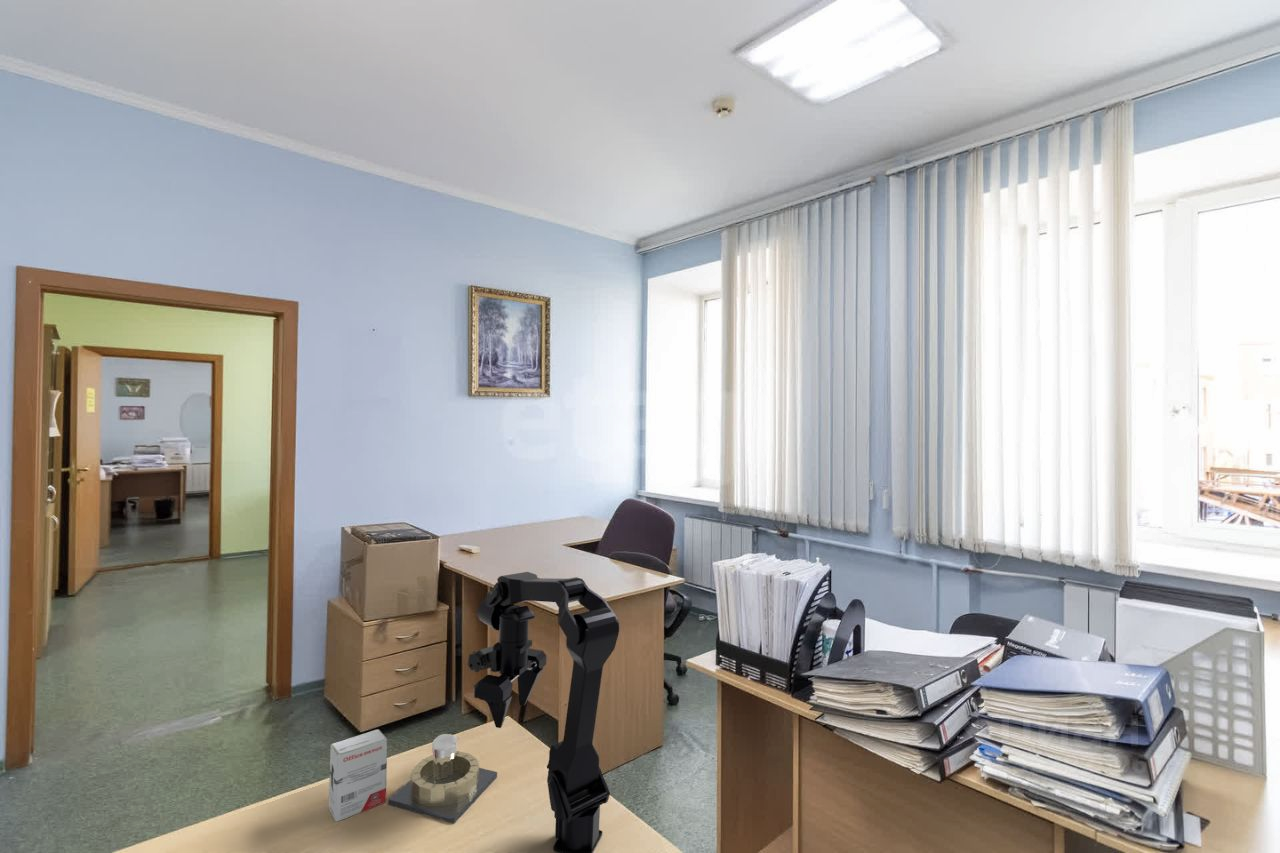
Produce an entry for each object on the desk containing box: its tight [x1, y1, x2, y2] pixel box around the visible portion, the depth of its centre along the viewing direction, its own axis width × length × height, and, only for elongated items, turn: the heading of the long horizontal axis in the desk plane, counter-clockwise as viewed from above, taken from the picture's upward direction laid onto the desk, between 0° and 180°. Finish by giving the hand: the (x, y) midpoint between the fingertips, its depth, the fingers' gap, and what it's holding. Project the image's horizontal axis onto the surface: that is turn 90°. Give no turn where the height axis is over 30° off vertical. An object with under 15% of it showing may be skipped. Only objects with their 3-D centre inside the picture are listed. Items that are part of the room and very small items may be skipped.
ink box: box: [328, 729, 388, 823], centre depth 105 cm, size 8×5×12 cm, turn 133°
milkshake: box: [431, 733, 461, 784], centre depth 110 cm, size 4×5×10 cm
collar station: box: [387, 750, 498, 824], centre depth 110 cm, size 14×14×4 cm
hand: (510, 715), depth 115 cm, fingers open, 9 cm apart
